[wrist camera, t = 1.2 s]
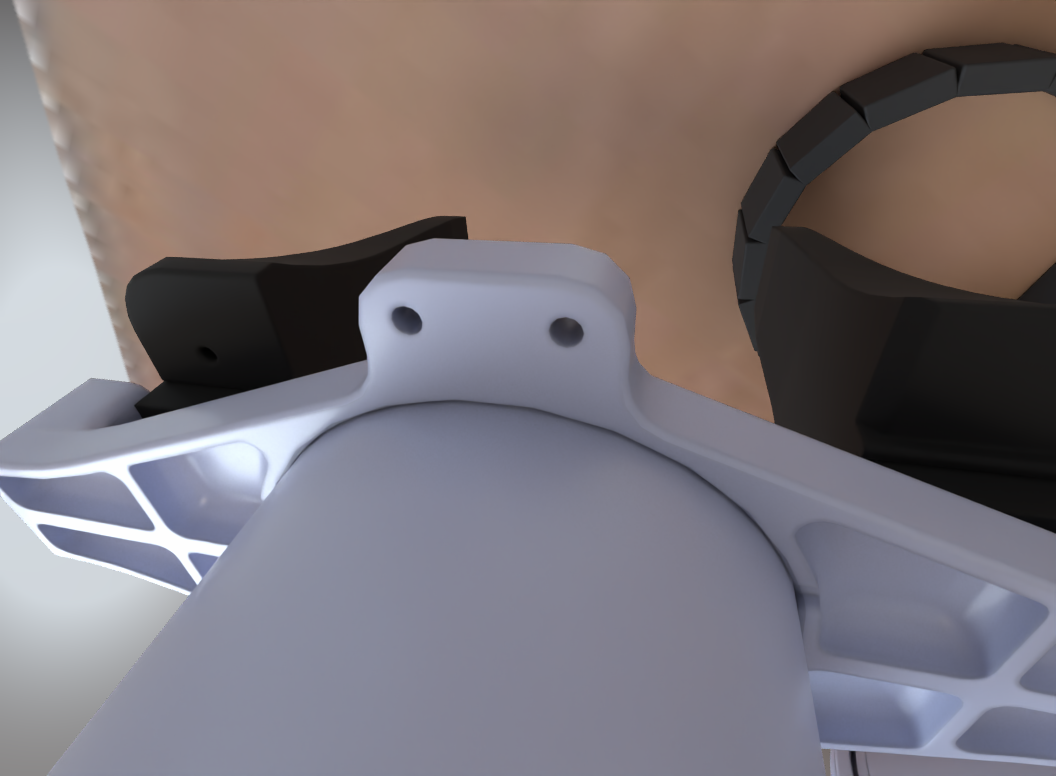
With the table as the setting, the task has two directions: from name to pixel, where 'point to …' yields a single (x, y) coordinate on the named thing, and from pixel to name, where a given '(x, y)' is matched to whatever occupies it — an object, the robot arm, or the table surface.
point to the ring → (855, 117)
